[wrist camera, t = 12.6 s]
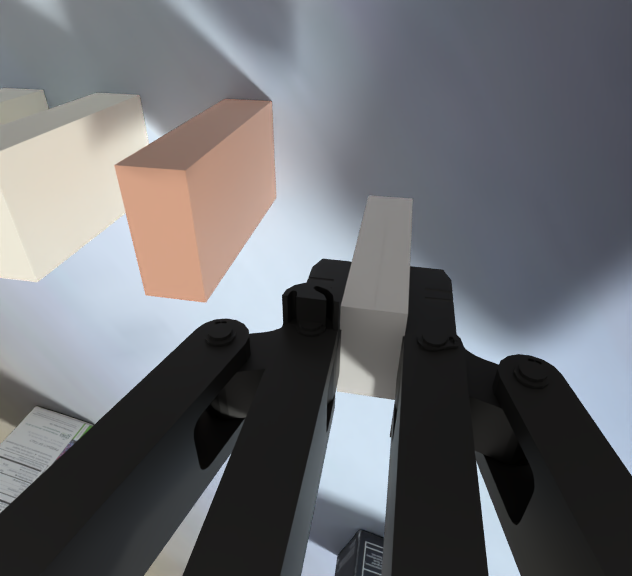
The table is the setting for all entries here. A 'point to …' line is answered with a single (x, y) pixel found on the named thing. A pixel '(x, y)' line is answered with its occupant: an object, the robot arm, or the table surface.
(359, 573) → the small box
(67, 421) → the syrup box
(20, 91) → the domino
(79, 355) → the table surface
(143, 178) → the domino
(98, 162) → the domino
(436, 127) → the table surface
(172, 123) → the table surface
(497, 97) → the table surface
